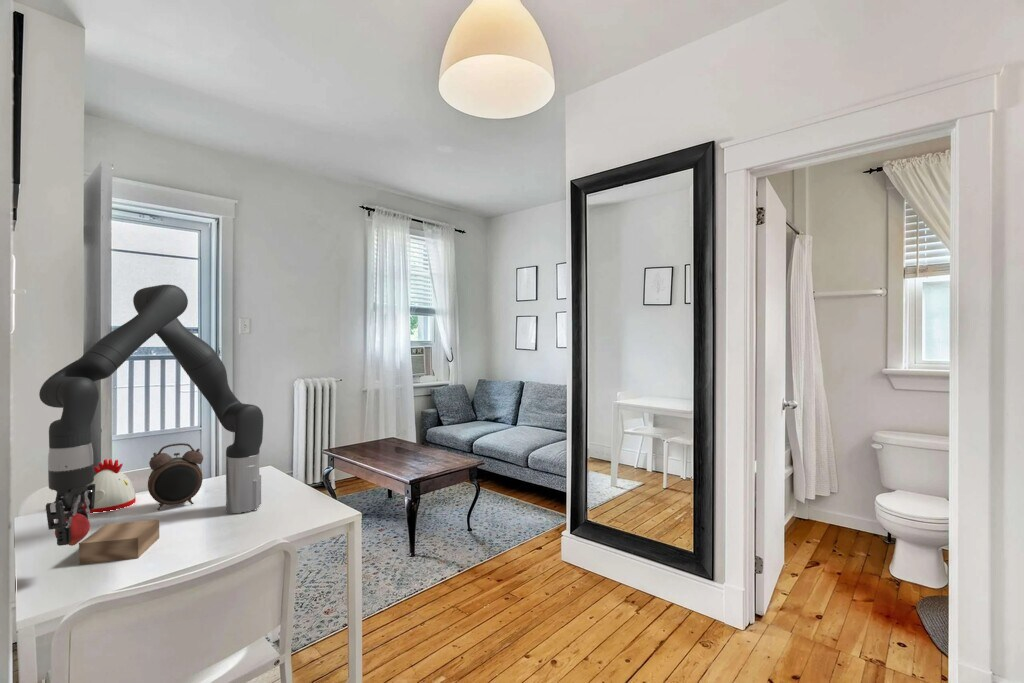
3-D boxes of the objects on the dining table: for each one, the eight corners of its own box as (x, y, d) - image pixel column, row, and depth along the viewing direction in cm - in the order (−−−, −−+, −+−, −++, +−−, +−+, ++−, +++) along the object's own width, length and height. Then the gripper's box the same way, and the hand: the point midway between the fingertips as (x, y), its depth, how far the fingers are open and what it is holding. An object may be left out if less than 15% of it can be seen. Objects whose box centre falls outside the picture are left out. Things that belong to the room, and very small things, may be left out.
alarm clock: (148, 514, 145) (147, 449, 144) (147, 507, 150) (147, 445, 150) (204, 504, 154) (204, 443, 154) (202, 498, 159) (201, 439, 159)
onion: (70, 539, 110) (69, 505, 110) (96, 538, 111) (96, 505, 111) (48, 551, 104) (47, 515, 104) (76, 550, 105) (75, 514, 105)
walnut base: (159, 537, 128) (159, 519, 128) (138, 558, 117) (138, 537, 117) (106, 543, 125) (106, 524, 125) (79, 564, 114) (79, 543, 114)
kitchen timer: (114, 513, 146) (114, 465, 145) (66, 514, 144) (66, 465, 144) (145, 498, 159) (145, 453, 159) (102, 498, 158) (102, 454, 158)
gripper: (72, 472, 101) (74, 550, 102) (108, 455, 115) (109, 523, 116) (28, 475, 99) (30, 555, 100) (70, 457, 113) (72, 527, 113)
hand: (73, 537), depth 108 cm, fingers closed on onion, 6 cm apart
